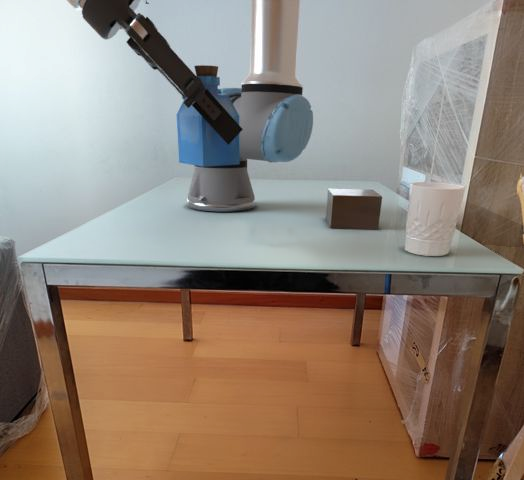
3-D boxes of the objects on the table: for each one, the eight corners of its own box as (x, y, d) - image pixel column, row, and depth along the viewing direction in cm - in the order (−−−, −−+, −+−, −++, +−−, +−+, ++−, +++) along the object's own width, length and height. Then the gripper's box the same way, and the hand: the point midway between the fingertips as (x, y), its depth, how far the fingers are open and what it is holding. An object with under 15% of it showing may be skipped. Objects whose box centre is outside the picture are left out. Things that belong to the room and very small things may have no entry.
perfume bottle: (179, 162, 69) (173, 66, 63) (214, 160, 72) (212, 69, 67) (203, 166, 64) (199, 63, 59) (239, 164, 68) (239, 66, 63)
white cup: (462, 256, 73) (476, 188, 69) (415, 258, 72) (426, 189, 67) (435, 244, 80) (447, 181, 75) (392, 245, 78) (401, 181, 74)
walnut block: (325, 219, 98) (327, 188, 95) (369, 220, 98) (373, 189, 95) (330, 228, 90) (333, 195, 87) (378, 229, 90) (382, 196, 87)
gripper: (93, 27, 68) (209, 150, 77) (60, -5, 49) (219, 162, 58) (127, -17, 66) (241, 114, 76) (107, -67, 47) (262, 115, 57)
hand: (231, 135), depth 67 cm, fingers closed on perfume bottle, 8 cm apart
